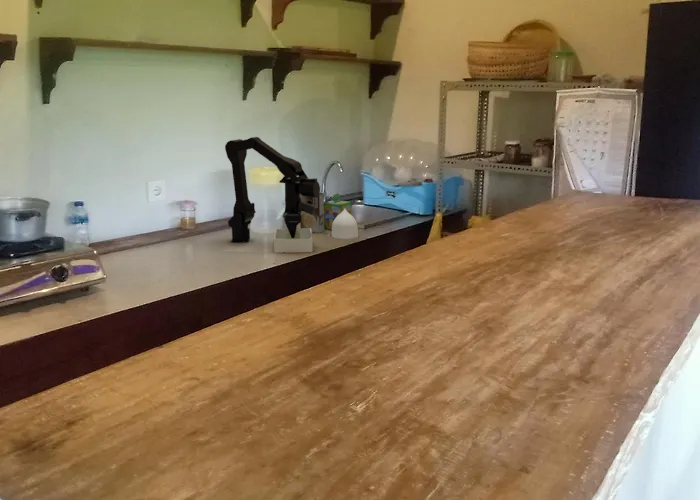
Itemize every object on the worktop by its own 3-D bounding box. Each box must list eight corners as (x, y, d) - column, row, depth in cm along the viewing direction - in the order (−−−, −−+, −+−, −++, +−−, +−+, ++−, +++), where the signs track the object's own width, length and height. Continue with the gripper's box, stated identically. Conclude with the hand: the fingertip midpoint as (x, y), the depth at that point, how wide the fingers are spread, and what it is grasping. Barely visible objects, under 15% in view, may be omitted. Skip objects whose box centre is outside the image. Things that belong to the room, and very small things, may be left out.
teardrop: (353, 232, 286) (353, 204, 283) (361, 238, 276) (362, 209, 273) (328, 233, 283) (328, 205, 280) (335, 240, 273) (335, 210, 270)
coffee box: (325, 229, 290) (325, 192, 286) (320, 233, 284) (320, 195, 280) (305, 228, 292) (304, 191, 288) (299, 231, 286) (299, 193, 282)
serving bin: (274, 252, 252) (273, 239, 251) (275, 241, 269) (275, 228, 268) (312, 252, 254) (312, 238, 252) (311, 241, 270) (311, 228, 269)
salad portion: (286, 246, 258) (286, 232, 257) (286, 243, 263) (286, 228, 262) (300, 246, 259) (300, 231, 257) (300, 243, 264) (300, 228, 262)
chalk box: (341, 231, 287) (341, 197, 283) (323, 229, 291) (323, 195, 287) (352, 227, 294) (352, 193, 291) (334, 225, 299) (334, 192, 295)
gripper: (314, 199, 248) (314, 240, 252) (313, 190, 266) (313, 229, 270) (283, 199, 247) (284, 241, 251) (284, 190, 265) (285, 229, 269)
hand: (293, 235), depth 260 cm, fingers open, 9 cm apart
